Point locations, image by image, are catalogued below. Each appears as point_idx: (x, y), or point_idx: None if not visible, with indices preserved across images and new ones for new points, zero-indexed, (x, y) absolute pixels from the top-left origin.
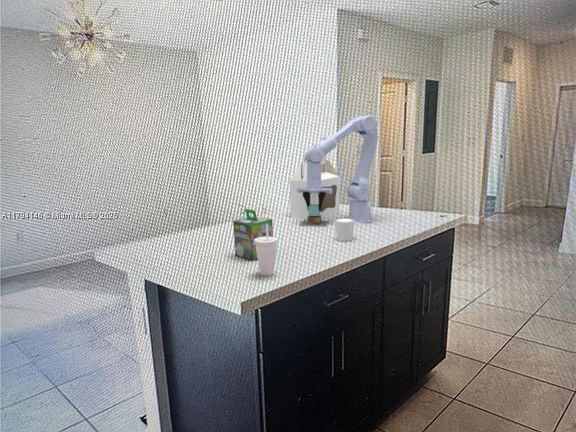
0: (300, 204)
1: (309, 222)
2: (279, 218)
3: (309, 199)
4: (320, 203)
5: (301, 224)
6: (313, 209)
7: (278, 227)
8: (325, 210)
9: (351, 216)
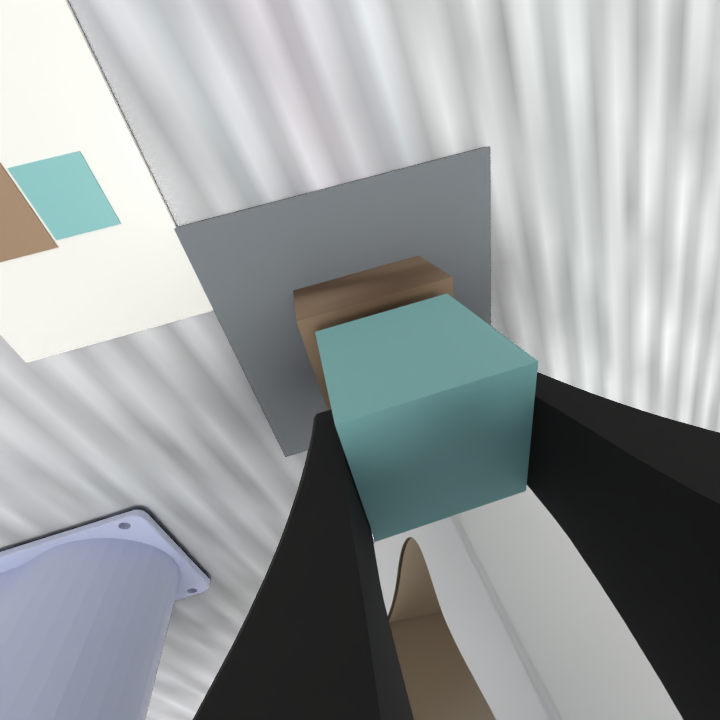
0: None
1: (404, 266)
2: (671, 381)
3: (621, 550)
4: (307, 511)
5: (477, 229)
6: (412, 357)
7: (705, 10)
8: (390, 581)
9: (105, 573)
